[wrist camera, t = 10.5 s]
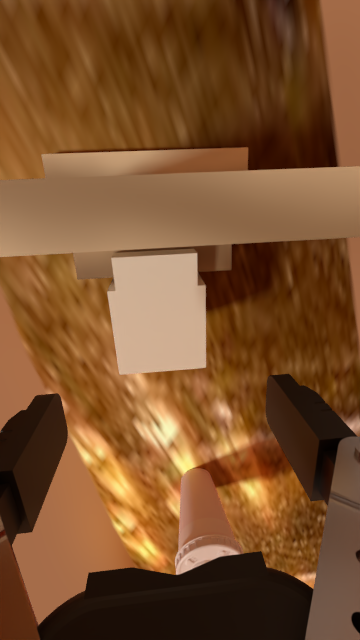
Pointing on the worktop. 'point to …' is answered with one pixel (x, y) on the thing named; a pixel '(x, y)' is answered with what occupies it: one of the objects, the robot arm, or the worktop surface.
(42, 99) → the worktop surface
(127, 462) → the worktop surface
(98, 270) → the cleat board
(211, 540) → the smoothie
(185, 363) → the wall box
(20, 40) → the worktop surface
